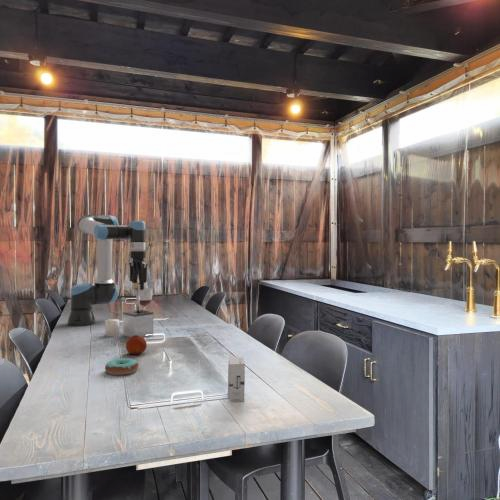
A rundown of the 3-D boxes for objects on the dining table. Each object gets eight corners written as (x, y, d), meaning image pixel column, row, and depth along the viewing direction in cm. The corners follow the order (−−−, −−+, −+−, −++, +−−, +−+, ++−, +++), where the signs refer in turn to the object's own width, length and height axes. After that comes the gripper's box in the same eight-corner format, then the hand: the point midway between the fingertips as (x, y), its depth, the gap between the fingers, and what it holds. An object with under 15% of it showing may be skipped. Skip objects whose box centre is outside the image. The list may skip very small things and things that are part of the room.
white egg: (102, 335, 222) (102, 320, 222) (114, 333, 227) (114, 318, 227) (109, 337, 217) (109, 321, 217) (122, 335, 222) (122, 319, 222)
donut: (111, 367, 166) (111, 356, 166) (142, 367, 166) (142, 357, 166) (99, 376, 154) (99, 365, 154) (132, 377, 154) (132, 366, 154)
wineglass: (148, 329, 236) (148, 290, 235) (132, 329, 238) (132, 289, 237) (155, 326, 244) (155, 288, 244) (139, 326, 246) (139, 288, 246)
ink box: (227, 392, 138) (227, 356, 138) (243, 392, 138) (243, 356, 138) (228, 402, 129) (228, 363, 129) (245, 402, 130) (245, 363, 130)
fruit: (128, 357, 179) (128, 338, 179) (124, 352, 187) (124, 334, 187) (149, 354, 184) (149, 336, 183) (144, 350, 191) (144, 332, 191)
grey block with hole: (123, 335, 221) (123, 312, 221) (141, 332, 230) (141, 309, 229) (134, 338, 214) (134, 314, 214) (153, 335, 222) (153, 312, 222)
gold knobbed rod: (128, 318, 221) (128, 282, 221) (140, 317, 227) (140, 282, 226) (136, 320, 217) (136, 283, 216) (148, 318, 222) (148, 282, 222)
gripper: (122, 250, 224) (122, 294, 225) (141, 251, 212) (141, 297, 213) (135, 250, 230) (135, 293, 230) (154, 250, 218) (154, 296, 218)
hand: (138, 295), depth 221 cm, fingers closed on gold knobbed rod, 4 cm apart
